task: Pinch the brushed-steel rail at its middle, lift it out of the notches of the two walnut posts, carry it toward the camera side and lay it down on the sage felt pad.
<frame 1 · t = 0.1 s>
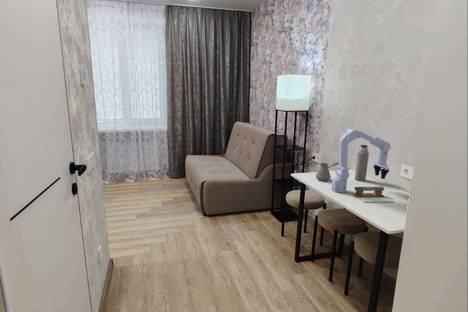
hand: (379, 177, 208), 10 cm above the table, fingers open, 7 cm apart
coffee pot: (328, 179, 233), on the table
thermos bottle: (359, 180, 234), on the table
rack: (368, 195, 200), on the table
pad: (376, 200, 191), on the table
rail: (369, 190, 199), point 4 cm above the table, touching rack
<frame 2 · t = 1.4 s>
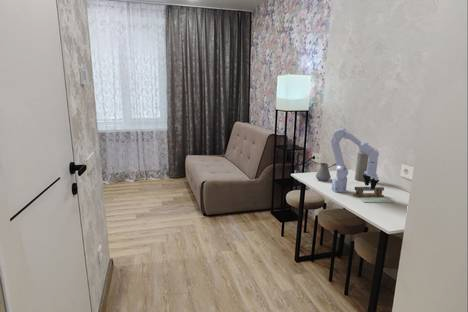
hand: (369, 187, 198), 6 cm above the table, fingers open, 7 cm apart
nothing on the table moved.
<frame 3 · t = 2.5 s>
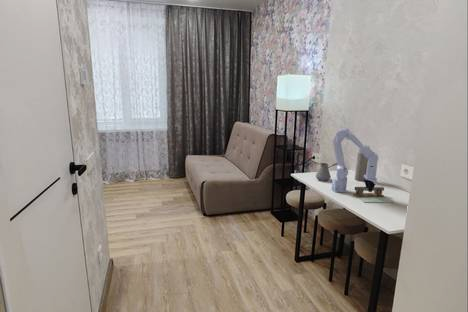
hand: (369, 190, 199), 3 cm above the table, fingers closed on rail, 2 cm apart
rail: (369, 190, 199), point 4 cm above the table, touching gripper, rack
everything else where it was.
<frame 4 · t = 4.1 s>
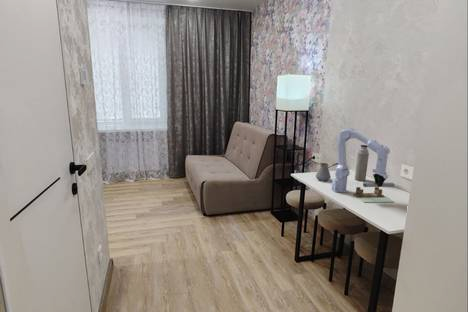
hand: (378, 185, 189), 10 cm above the table, fingers closed on rail, 2 cm apart
rail: (378, 186, 189), point 10 cm above the table, touching gripper
everything else where it was.
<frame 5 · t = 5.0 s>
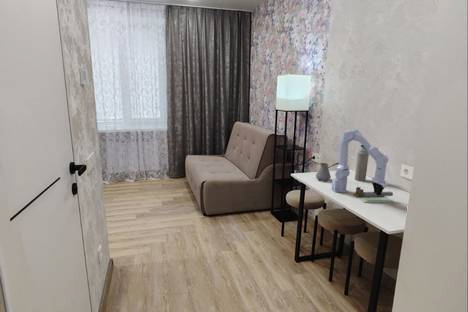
hand: (377, 194, 190), 4 cm above the table, fingers closed on rail, 2 cm apart
rail: (377, 195, 190), point 4 cm above the table, touching gripper
everything else where it was.
when the fingers open (2 cm above the table, at t = 5.7 s): rail stays where it is, resting on pad.
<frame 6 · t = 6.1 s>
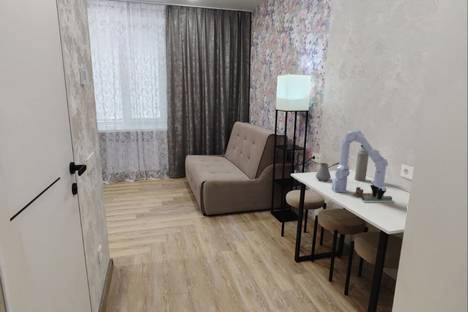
hand: (376, 197, 191), 2 cm above the table, fingers open, 5 cm apart
rail: (376, 199, 191), point 1 cm above the table, touching pad
everything else where it was.
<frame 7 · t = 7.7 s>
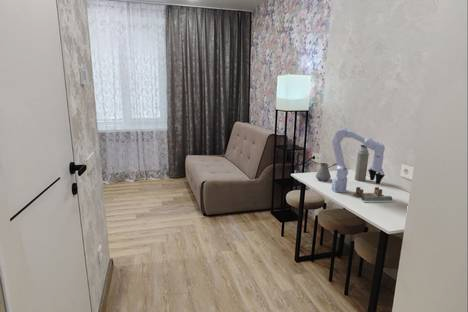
hand: (374, 181, 196), 10 cm above the table, fingers open, 7 cm apart
nothing on the table moved.
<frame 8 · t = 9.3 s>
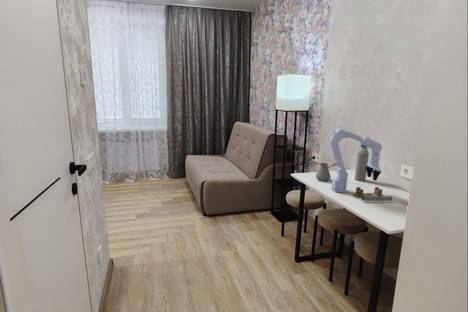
hand: (371, 178, 203), 10 cm above the table, fingers open, 7 cm apart
nothing on the table moved.
at the end: rail inside the target area on the pad (0.0 cm from its centre), point 0.6 cm above the pad's base; rail touching pad; the gripper is holding nothing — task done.
